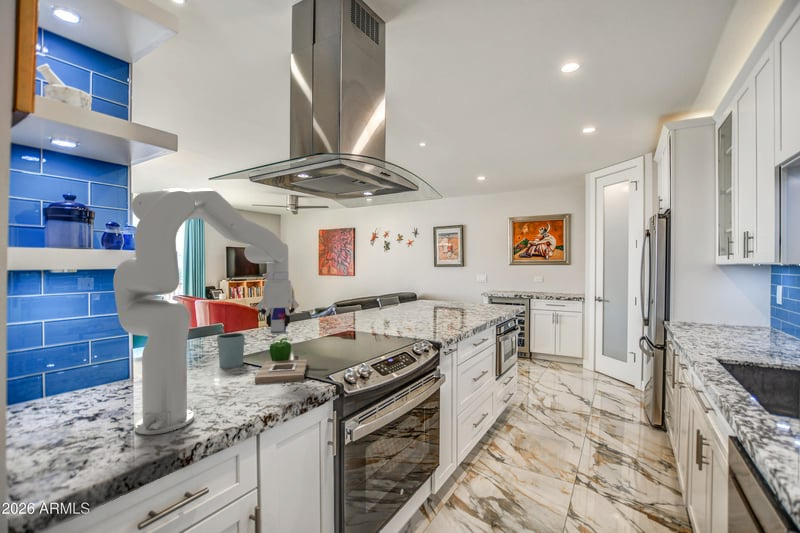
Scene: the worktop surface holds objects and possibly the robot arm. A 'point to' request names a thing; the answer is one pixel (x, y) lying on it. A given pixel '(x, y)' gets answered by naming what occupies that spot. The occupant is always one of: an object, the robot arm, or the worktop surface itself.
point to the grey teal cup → (231, 349)
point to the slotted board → (281, 371)
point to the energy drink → (277, 321)
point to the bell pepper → (280, 350)
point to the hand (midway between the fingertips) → (278, 325)
